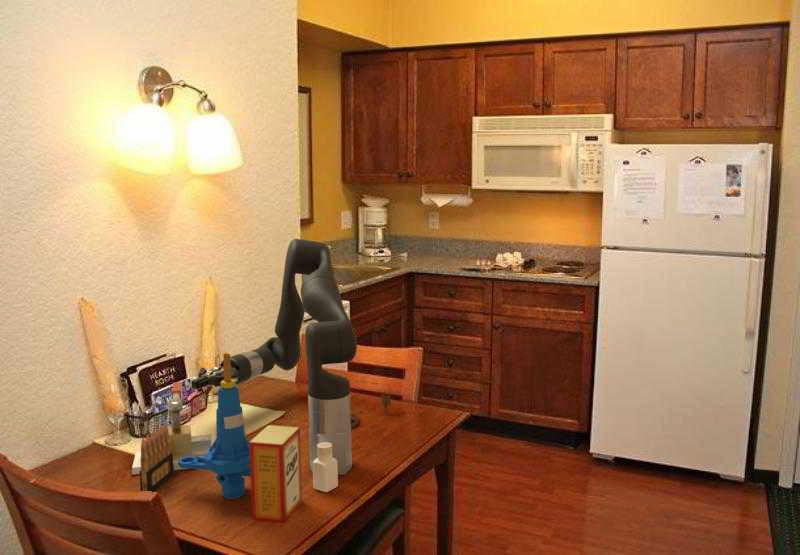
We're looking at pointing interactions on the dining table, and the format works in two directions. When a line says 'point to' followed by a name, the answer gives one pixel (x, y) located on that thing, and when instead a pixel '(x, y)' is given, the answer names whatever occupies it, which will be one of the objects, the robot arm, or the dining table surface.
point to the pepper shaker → (325, 468)
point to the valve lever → (176, 397)
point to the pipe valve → (186, 439)
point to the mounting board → (137, 464)
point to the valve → (226, 441)
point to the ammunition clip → (156, 460)
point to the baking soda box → (275, 473)
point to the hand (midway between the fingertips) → (193, 385)
